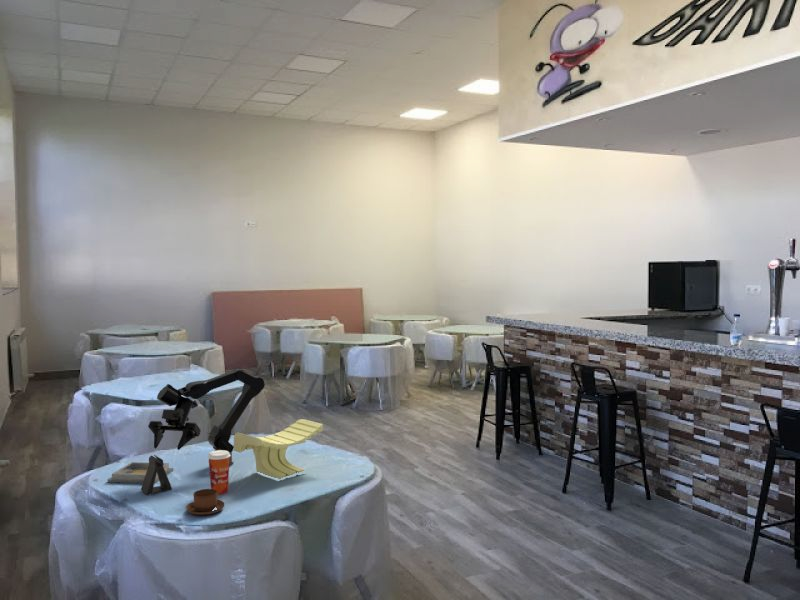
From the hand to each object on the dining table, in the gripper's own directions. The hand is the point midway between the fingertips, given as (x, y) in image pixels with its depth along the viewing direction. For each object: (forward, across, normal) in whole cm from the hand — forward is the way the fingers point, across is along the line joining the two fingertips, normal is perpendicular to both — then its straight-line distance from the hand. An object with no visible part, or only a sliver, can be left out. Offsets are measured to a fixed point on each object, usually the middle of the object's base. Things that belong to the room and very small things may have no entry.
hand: (166, 448), depth 244 cm
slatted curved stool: (-5, +36, +23) cm, 43 cm away
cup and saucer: (+25, +27, -6) cm, 37 cm away
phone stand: (+14, 0, +4) cm, 15 cm away
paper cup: (+13, +23, +6) cm, 27 cm away
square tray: (+5, -14, +13) cm, 20 cm away
